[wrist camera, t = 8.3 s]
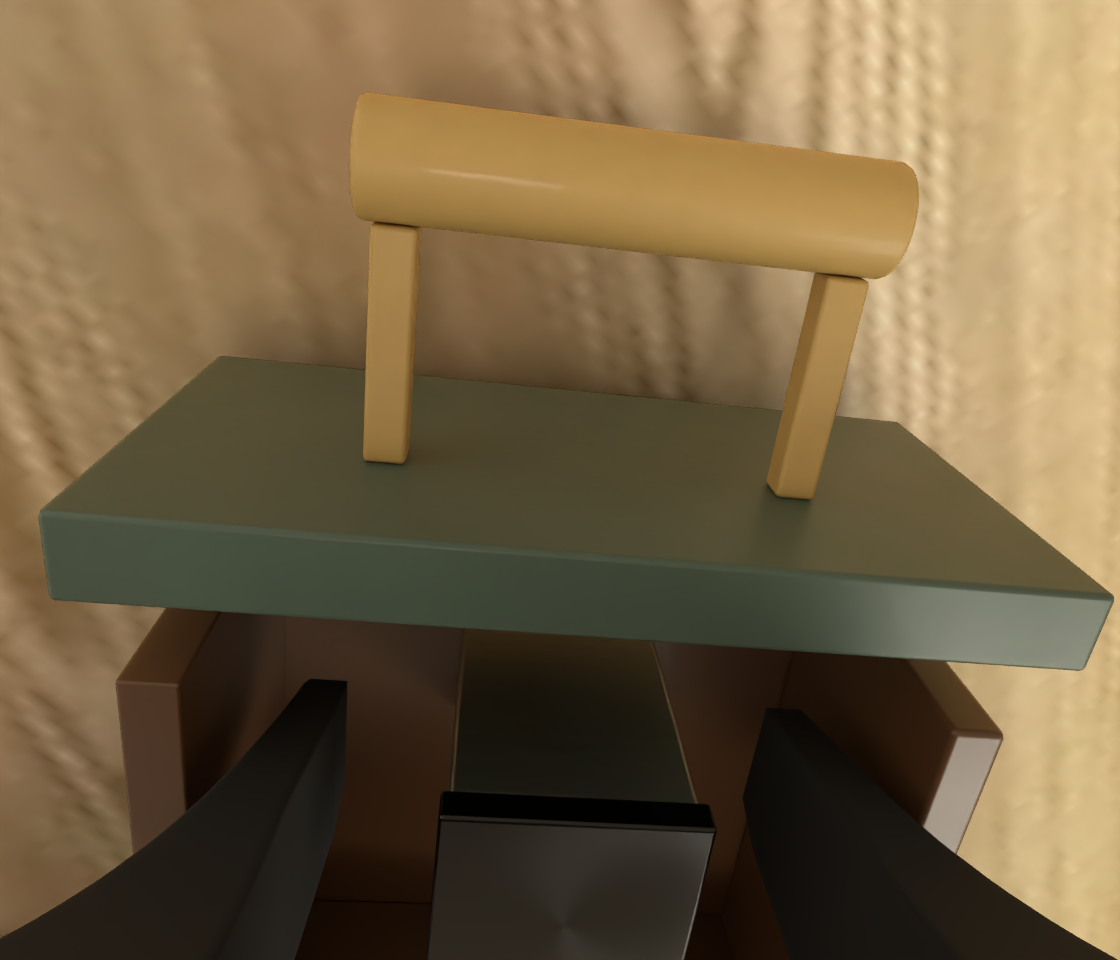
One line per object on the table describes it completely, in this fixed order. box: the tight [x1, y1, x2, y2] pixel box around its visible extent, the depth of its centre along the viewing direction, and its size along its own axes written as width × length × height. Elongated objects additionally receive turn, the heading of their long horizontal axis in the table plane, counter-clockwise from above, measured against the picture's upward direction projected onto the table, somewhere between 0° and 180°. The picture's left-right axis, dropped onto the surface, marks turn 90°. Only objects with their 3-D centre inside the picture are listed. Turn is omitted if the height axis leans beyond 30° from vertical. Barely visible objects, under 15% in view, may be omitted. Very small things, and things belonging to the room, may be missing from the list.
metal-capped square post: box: [426, 628, 717, 960], centre depth 14 cm, size 4×4×6 cm
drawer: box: [39, 93, 1114, 960], centre depth 15 cm, size 18×13×7 cm
